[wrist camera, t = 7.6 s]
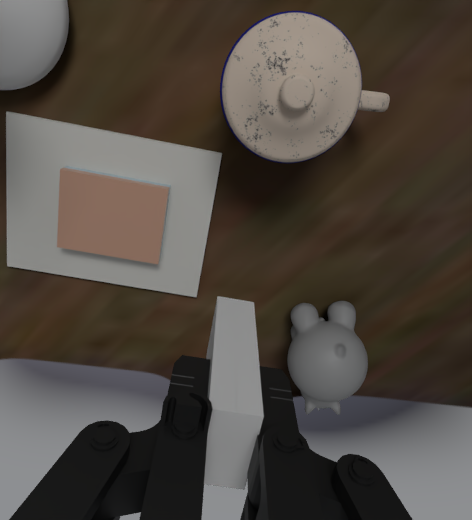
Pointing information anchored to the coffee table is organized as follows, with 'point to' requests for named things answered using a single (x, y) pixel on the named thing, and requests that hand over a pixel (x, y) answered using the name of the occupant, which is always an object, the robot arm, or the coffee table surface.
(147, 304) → the coffee table surface
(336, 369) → the chubby cartoon animal
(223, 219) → the coffee table surface
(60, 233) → the tile
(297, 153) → the teacup with lid
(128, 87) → the coffee table surface
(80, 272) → the mat
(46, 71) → the flower in vase
